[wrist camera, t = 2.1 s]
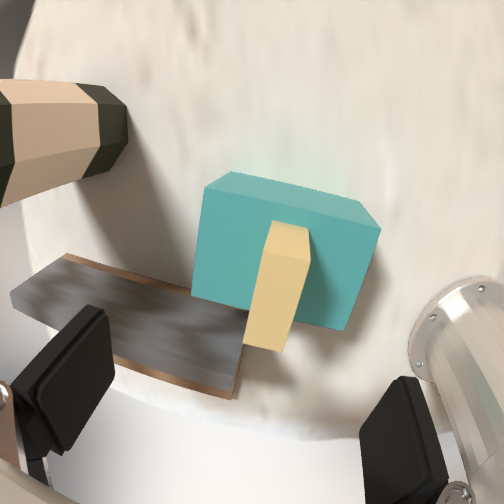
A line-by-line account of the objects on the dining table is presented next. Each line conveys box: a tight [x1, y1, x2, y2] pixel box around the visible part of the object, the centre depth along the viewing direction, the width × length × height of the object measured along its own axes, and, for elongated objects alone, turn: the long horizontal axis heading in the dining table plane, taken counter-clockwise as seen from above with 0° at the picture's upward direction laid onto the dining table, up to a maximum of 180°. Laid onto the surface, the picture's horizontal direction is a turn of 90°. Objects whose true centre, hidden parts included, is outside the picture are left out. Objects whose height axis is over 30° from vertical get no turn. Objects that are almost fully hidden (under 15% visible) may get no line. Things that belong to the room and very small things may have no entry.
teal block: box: [191, 171, 381, 352], centre depth 19 cm, size 10×7×12 cm
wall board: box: [10, 253, 250, 400], centre depth 26 cm, size 20×12×9 cm, turn 79°
